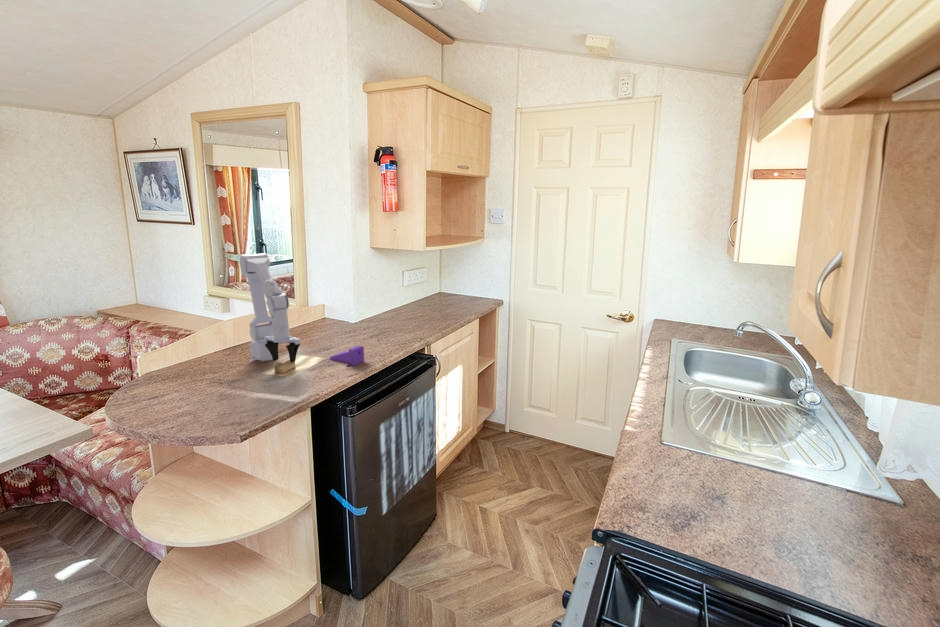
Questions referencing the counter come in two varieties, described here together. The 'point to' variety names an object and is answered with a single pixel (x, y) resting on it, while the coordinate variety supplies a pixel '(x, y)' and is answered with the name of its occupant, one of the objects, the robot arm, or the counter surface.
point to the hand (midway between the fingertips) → (284, 360)
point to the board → (298, 365)
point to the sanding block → (284, 365)
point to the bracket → (350, 356)
